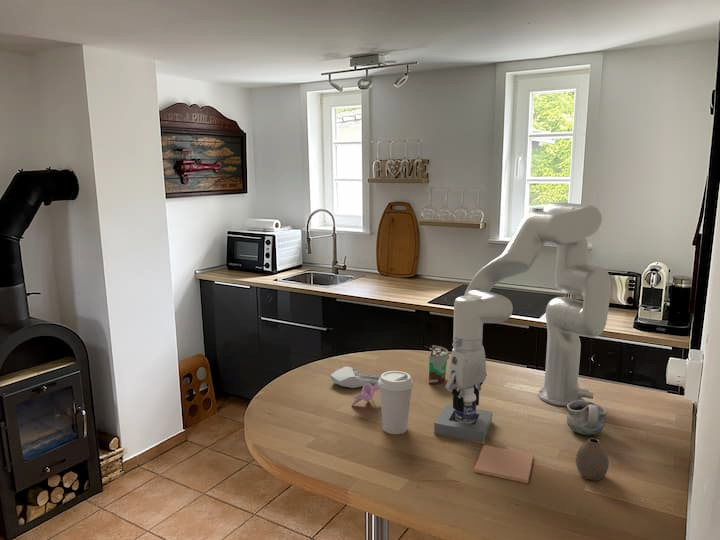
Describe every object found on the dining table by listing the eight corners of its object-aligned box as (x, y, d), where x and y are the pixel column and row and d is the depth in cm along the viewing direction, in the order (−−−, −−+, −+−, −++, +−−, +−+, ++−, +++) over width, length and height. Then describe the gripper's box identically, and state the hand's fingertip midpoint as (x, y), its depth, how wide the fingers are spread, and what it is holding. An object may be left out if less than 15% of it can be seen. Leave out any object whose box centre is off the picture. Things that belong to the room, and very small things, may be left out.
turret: (391, 394, 176) (393, 380, 175) (330, 389, 172) (333, 375, 172) (384, 382, 186) (387, 369, 185) (327, 377, 182) (329, 364, 181)
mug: (595, 423, 151) (598, 389, 149) (616, 446, 138) (619, 409, 137) (560, 423, 151) (562, 389, 149) (578, 446, 138) (581, 409, 137)
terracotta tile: (533, 457, 133) (533, 454, 133) (527, 483, 122) (528, 480, 122) (483, 448, 137) (483, 445, 137) (474, 471, 126) (474, 468, 126)
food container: (447, 387, 175) (448, 358, 174) (428, 386, 177) (429, 356, 175) (449, 373, 187) (450, 346, 186) (431, 372, 189) (432, 344, 187)
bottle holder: (491, 421, 152) (492, 411, 151) (483, 443, 140) (483, 432, 139) (446, 413, 157) (446, 403, 156) (434, 433, 145) (434, 423, 144)
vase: (569, 468, 128) (572, 433, 127) (597, 467, 129) (600, 432, 127) (583, 484, 121) (586, 448, 120) (613, 483, 122) (616, 447, 120)
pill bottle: (463, 426, 144) (464, 391, 143) (451, 418, 149) (452, 384, 147) (479, 421, 147) (480, 387, 145) (467, 413, 152) (467, 380, 150)
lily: (388, 403, 166) (377, 376, 167) (396, 404, 155) (383, 375, 156) (355, 418, 163) (344, 390, 164) (360, 420, 153) (348, 390, 154)
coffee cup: (388, 440, 141) (389, 385, 138) (370, 425, 149) (371, 373, 147) (419, 432, 145) (420, 379, 143) (400, 418, 154) (401, 367, 151)
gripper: (455, 353, 136) (453, 420, 139) (500, 339, 146) (497, 403, 149) (434, 345, 142) (433, 410, 145) (478, 333, 152) (476, 394, 155)
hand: (465, 406), depth 147 cm, fingers closed on pill bottle, 5 cm apart
